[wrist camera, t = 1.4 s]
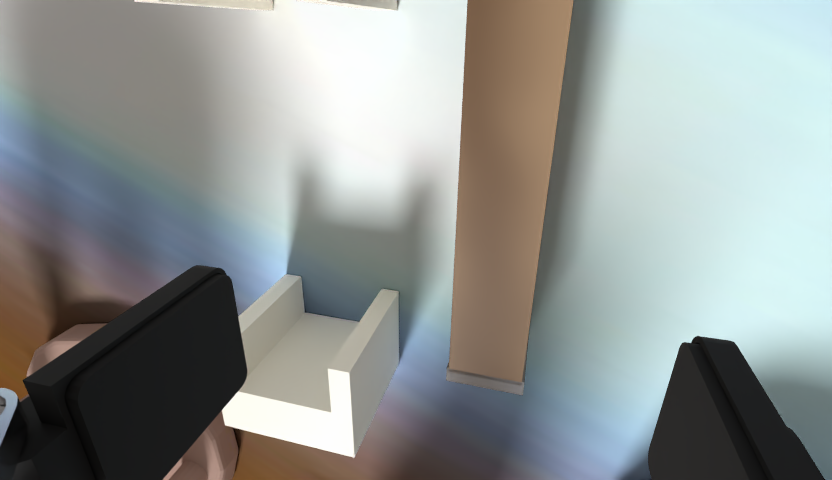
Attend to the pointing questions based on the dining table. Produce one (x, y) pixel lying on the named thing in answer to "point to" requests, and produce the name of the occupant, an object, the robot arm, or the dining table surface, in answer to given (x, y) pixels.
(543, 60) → the rail
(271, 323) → the white u-channel cradle
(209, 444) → the hourglass
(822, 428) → the dining table surface
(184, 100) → the dining table surface
